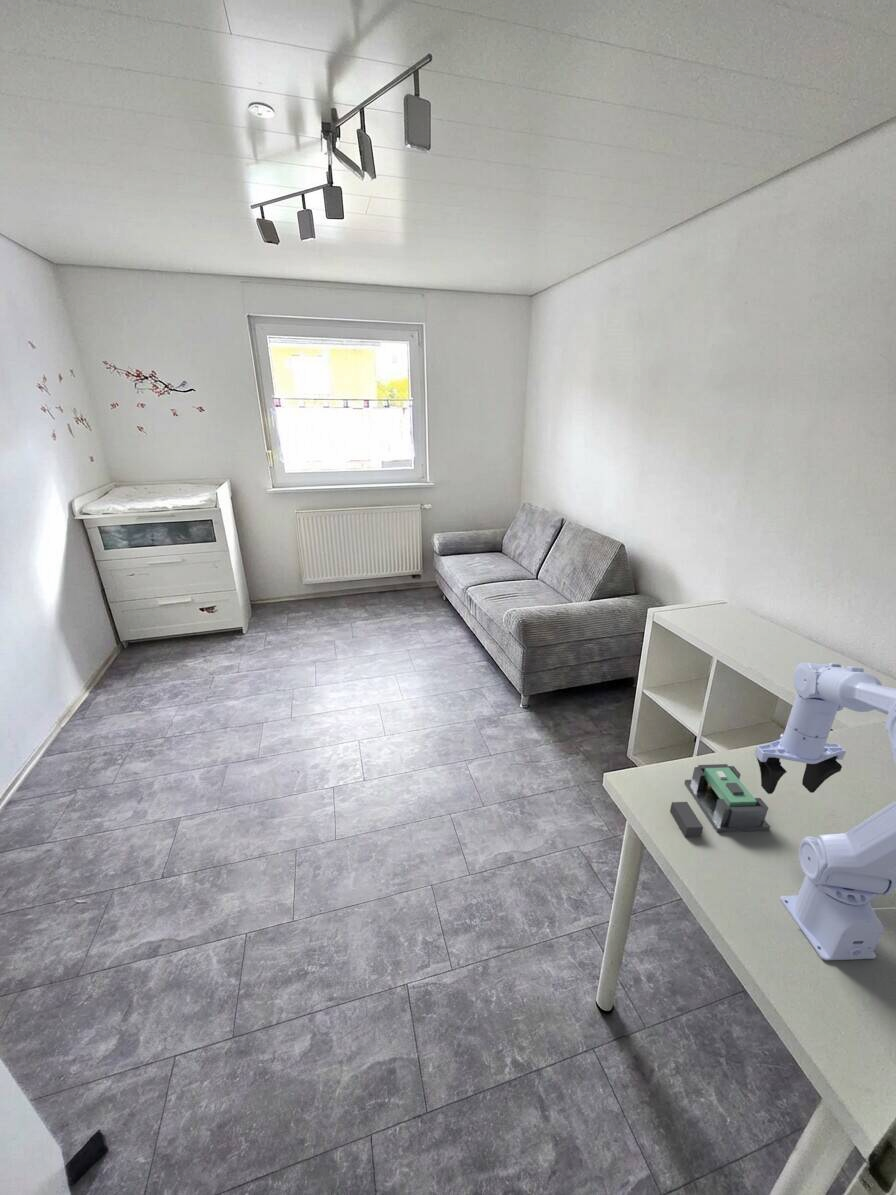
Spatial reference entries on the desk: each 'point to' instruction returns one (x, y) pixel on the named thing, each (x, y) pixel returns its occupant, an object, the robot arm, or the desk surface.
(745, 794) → the board
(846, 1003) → the desk surface
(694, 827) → the dark grey rectangular block
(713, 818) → the chassis
